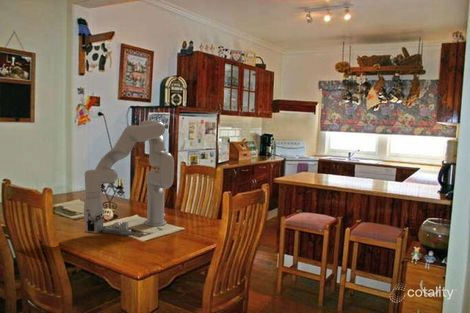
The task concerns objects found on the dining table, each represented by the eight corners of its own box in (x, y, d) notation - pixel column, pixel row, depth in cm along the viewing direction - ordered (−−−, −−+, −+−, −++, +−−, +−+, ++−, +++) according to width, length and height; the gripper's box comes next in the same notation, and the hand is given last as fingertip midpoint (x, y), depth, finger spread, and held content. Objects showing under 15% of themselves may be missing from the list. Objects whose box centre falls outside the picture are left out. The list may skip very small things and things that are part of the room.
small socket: (116, 228, 207) (116, 222, 207) (122, 228, 206) (122, 222, 206) (112, 230, 204) (112, 223, 203) (118, 230, 203) (118, 224, 203)
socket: (93, 227, 196) (92, 216, 195) (103, 228, 194) (103, 217, 194) (86, 231, 190) (85, 220, 189) (96, 232, 189) (96, 221, 188)
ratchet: (93, 228, 205) (93, 216, 205) (133, 233, 200) (133, 221, 199) (86, 231, 199) (86, 220, 198) (127, 236, 194) (127, 224, 193)
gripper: (96, 190, 199) (98, 223, 201) (76, 198, 182) (77, 233, 185) (109, 191, 197) (110, 224, 200) (89, 199, 180) (91, 235, 183)
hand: (94, 228), depth 192 cm, fingers closed on socket, 6 cm apart
